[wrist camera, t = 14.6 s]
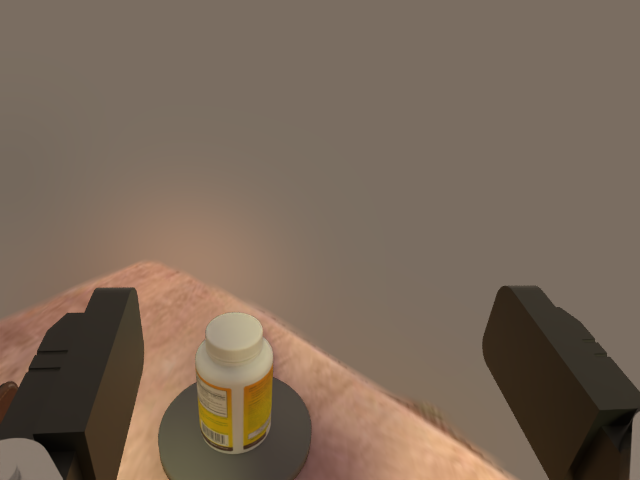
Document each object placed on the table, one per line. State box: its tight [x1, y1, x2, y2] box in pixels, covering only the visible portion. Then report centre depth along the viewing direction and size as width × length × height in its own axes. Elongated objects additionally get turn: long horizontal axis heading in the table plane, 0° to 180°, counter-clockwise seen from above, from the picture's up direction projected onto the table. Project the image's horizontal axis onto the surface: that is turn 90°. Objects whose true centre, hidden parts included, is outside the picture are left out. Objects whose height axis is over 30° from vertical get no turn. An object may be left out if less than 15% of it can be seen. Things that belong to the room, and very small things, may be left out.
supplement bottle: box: [195, 312, 273, 454], centre depth 38 cm, size 6×6×10 cm
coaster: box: [158, 377, 311, 480], centre depth 41 cm, size 12×12×1 cm
